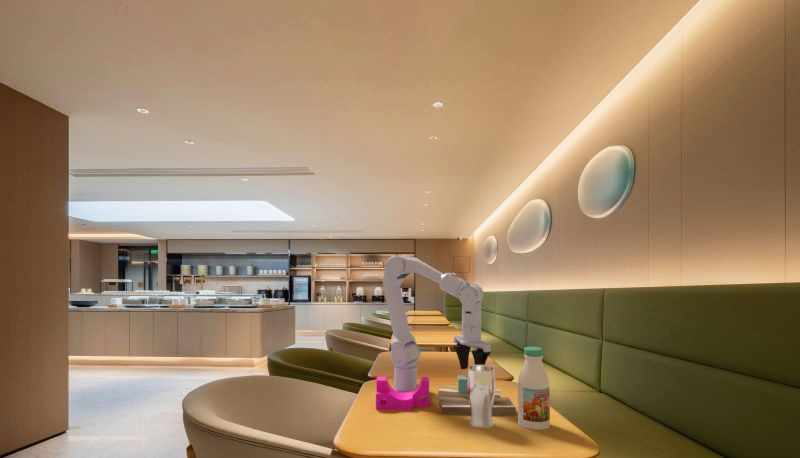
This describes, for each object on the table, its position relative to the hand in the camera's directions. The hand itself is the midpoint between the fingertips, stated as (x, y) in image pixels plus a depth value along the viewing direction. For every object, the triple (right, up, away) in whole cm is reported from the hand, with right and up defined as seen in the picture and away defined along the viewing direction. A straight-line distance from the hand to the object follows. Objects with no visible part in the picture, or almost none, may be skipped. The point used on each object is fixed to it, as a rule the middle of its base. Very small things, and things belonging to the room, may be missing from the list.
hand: (471, 371), depth 138 cm
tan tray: (-1, -9, 0) cm, 9 cm away
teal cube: (-2, -6, -1) cm, 6 cm away
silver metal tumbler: (-1, -8, -21) cm, 22 cm away
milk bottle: (+13, -8, -21) cm, 25 cm away
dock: (0, -8, -8) cm, 12 cm away
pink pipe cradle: (-20, -9, -5) cm, 23 cm away
